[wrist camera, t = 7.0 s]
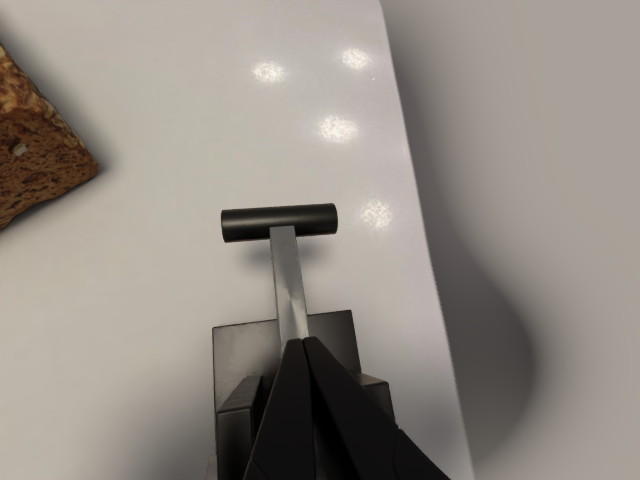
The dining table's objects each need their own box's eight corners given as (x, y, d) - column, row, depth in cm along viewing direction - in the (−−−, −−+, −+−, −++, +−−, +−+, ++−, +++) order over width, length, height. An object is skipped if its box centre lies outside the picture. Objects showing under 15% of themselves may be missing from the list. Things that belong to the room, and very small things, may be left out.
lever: (227, 226, 15) (218, 196, 13) (327, 219, 16) (335, 190, 14) (233, 526, 10) (221, 559, 8) (382, 490, 11) (408, 510, 8)
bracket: (215, 328, 18) (156, 312, 9) (346, 311, 19) (414, 283, 10) (222, 538, 15) (144, 847, 6) (376, 500, 16) (508, 698, 7)
